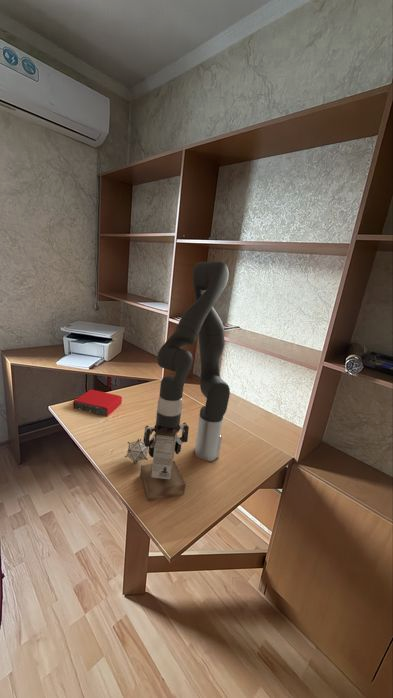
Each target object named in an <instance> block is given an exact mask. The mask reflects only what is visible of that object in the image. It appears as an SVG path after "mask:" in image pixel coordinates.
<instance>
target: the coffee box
mask: <svg viewBox="0 0 393 698" xmlns="http://www.w3.org/2000/svg"><path fill="white" fill-rule="evenodd" d="M154 434H155V433H154ZM176 435H178V433H177V428H165V429H157V430H156V434H155V444H154V454H153V457H152V464H153V465H152V475H151V477H153V478H162V479H170V478H171V473H172V467H173V461H175V460H174V459H175V454H176V453H175V445H176Z"/></svg>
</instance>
